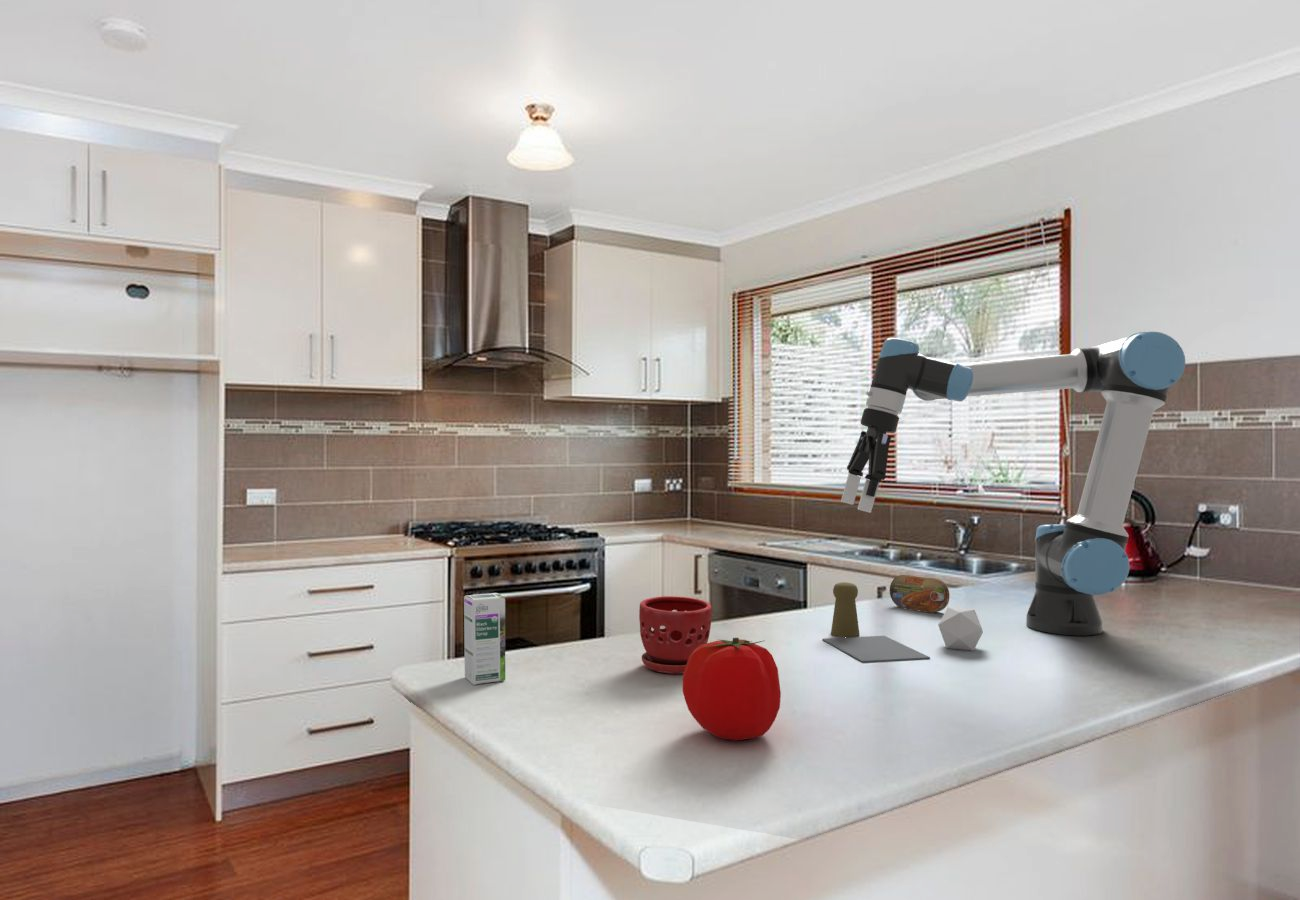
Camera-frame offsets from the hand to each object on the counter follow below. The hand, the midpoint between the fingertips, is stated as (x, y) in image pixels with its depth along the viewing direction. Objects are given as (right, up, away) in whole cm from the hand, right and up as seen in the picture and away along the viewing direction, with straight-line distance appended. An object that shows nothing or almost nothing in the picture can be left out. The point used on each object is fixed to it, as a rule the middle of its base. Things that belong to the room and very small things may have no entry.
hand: (855, 507), depth 180 cm
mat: (+1, -27, -12) cm, 30 cm away
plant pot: (-39, -28, -27) cm, 55 cm away
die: (+18, -28, -11) cm, 35 cm away
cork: (-2, -27, 0) cm, 27 cm away
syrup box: (-72, -28, -35) cm, 85 cm away
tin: (+22, -27, +27) cm, 45 cm away
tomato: (-32, -28, -61) cm, 74 cm away
